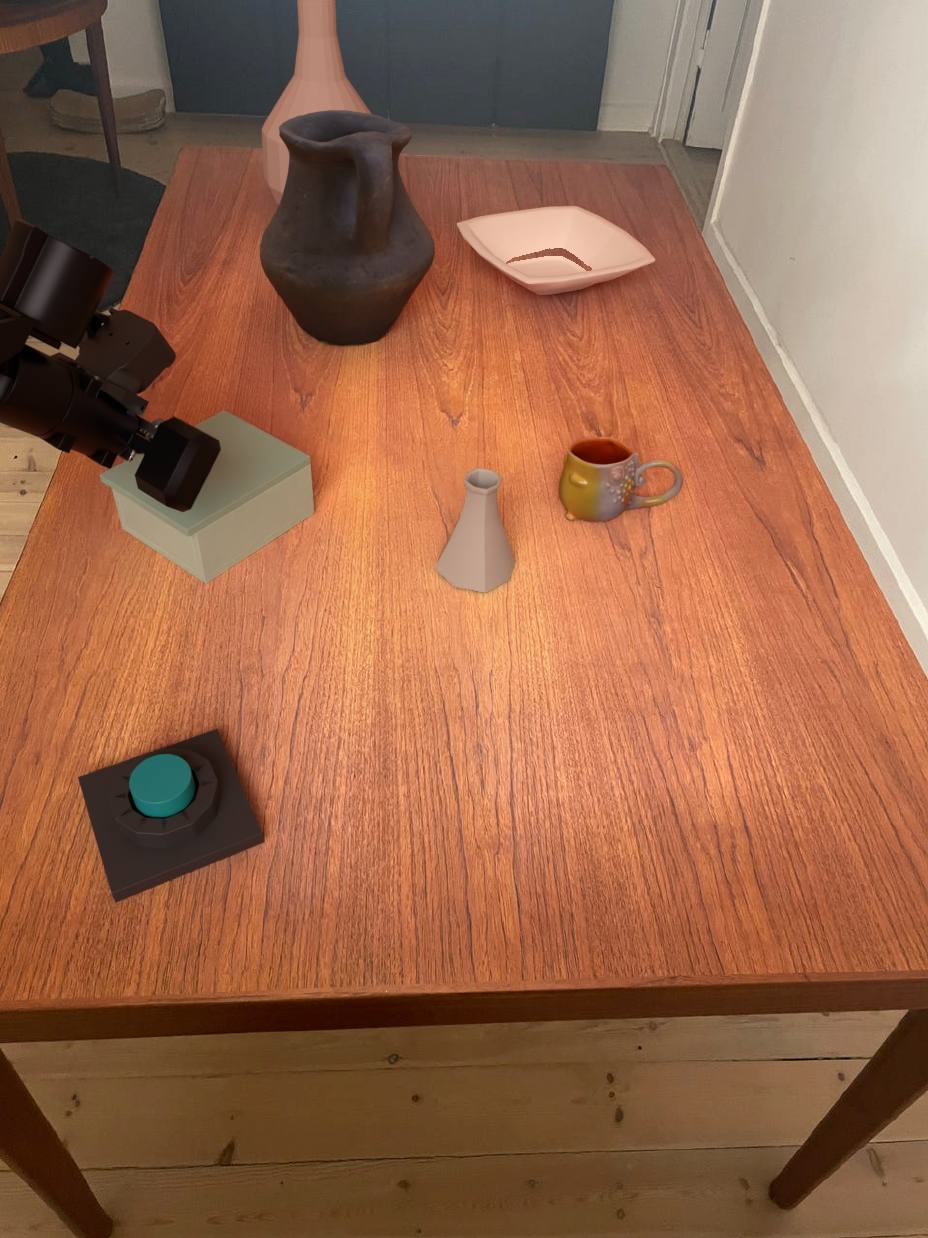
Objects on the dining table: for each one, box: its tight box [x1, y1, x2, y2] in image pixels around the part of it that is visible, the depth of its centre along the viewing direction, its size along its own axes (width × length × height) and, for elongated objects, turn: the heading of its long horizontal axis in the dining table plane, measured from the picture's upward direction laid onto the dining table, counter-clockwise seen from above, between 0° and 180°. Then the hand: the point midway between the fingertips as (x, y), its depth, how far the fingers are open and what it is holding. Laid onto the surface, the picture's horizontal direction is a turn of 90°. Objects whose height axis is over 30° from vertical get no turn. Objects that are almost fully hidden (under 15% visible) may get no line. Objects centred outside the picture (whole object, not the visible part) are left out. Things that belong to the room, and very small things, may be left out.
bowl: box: [456, 205, 656, 296], centre depth 126 cm, size 22×23×6 cm
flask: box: [434, 467, 516, 594], centre depth 80 cm, size 7×7×10 cm
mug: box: [558, 436, 684, 523], centre depth 89 cm, size 12×7×7 cm, turn 84°
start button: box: [129, 754, 195, 818], centre depth 61 cm, size 4×4×2 cm
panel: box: [77, 728, 265, 903], centre depth 62 cm, size 10×10×3 cm
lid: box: [99, 409, 311, 537], centre depth 80 cm, size 14×12×5 cm
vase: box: [261, 0, 372, 207], centre depth 128 cm, size 18×18×30 cm
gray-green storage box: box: [111, 463, 315, 585], centre depth 84 cm, size 14×12×6 cm
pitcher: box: [259, 110, 436, 346], centre depth 106 cm, size 21×22×25 cm
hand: (188, 459), depth 79 cm, fingers closed on lid, 5 cm apart
